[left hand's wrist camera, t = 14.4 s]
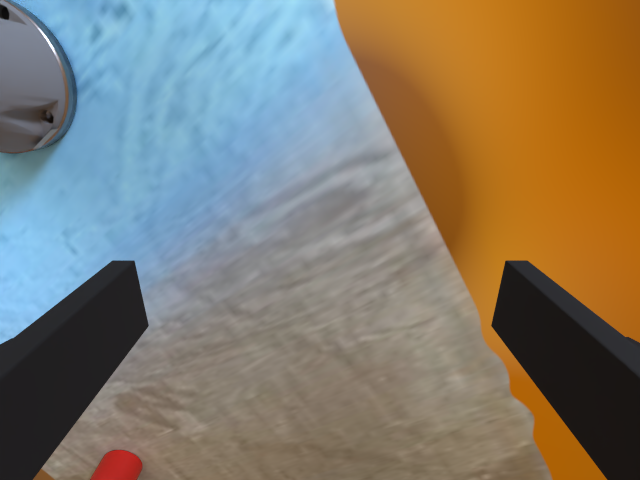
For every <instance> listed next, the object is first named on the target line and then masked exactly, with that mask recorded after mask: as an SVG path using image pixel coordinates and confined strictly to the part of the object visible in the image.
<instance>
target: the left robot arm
mask: <svg viewBox="0 0 640 480" xmlns="http://www.w3.org/2000/svg"><path fill="white" fill-rule="evenodd" d="M76 103H77V92H76V84H75V79H74V75H73V71H72V68H71V65H70V63H69V60H68V58H67V56H66V54H65V52H64V50H63V48H62V47H61V45H60V44H59V42H58V41H57V39H56V38H55V37H54V35H53V34H52V33H51V31H50V30H49V29H48V28H47V27H46V26H45V25H44V24H43V23H42V22H41V21H40V20H39V19H38V18H37V17H36V16H35V15H33V14H32V13H31V12H29V11H28V10H27V9H25V8H24V7H22V6H20V5H19V4H17V3H15V2H13V1H11V0H0V152H3V153H22V152H29V151H34V150H39V149H42V148H45V147H48V146H50V145H52V144H53V143H55V142H56V141H58V140H59V139H60V138H61V137H62V136H63V135H64V134H65V133H66V131H67V130H68V128H69V127H70V125H71V123H72V120H73V117H74V114H75V110H76ZM148 326H149V325H148V321H147V316H146V312H145V307H144V303H143V298H142V293H141V289H140V284H139V280H138V275H137V271H136V266H135V261H112V262H110V263H109V264H108V265H107V266H105V267H104V268H103V269H101V270H100V271H99V272H98V273H96V274H95V275H94V276H92V277H91V278H90V279H89V280H87V281H86V282H85V283H83V284H82V285H81V286H80V287H78V288H77V289H76V290H75V291H73V292H72V293H71V294H69V295H68V296H67V297H66V298H64V299H63V300H62V301H60V302H59V303H58V304H57V305H55V306H54V307H53V308H51V309H50V310H49V311H48V312H46V313H45V314H44V315H43V316H41V317H40V318H39V319H37V320H36V321H35V322H34V323H32V324H31V325H30V326H28V327H27V328H26V329H25V330H23V331H22V332H21V333H19V334H18V335H17V336H16V337H14V338H12V339H10V340H8V341H6V342H4V343H2V344H0V480H33V478H34V477H35V476H36V474H37V473H38V472H39V470H40V469H41V468H42V467H43V465H44V464H45V463H46V461H47V460H48V459H49V457H50V456H51V455H52V453H53V452H54V451H55V449H56V448H57V447H58V445H59V444H60V443H61V441H62V440H63V439H64V437H65V436H66V435H67V433H68V432H69V431H70V429H71V428H72V427H73V425H74V424H75V423H76V421H77V420H78V419H79V417H80V416H81V415H82V413H83V412H84V411H85V410H86V408H87V407H88V406H89V404H90V403H91V402H92V400H93V399H94V398H95V396H96V395H97V394H98V392H99V391H100V390H101V388H102V387H103V386H104V384H105V383H106V382H107V380H108V379H109V378H110V376H111V375H112V374H113V372H114V371H115V370H116V368H117V367H118V366H119V364H120V363H121V362H122V360H123V359H124V358H125V356H126V355H127V354H128V353H129V351H130V350H131V349H132V347H133V346H134V345H135V343H136V342H137V341H138V339H139V338H140V337H141V335H142V334H143V333H144V331H145V330H146V329H147V327H148ZM492 327H493V329H494V330H495V331H496V333H497V334H498V335H499V337H500V338H501V339H502V341H503V342H504V343H505V345H506V346H507V347H508V349H509V350H510V351H511V353H512V354H513V355H514V356H515V358H516V359H517V360H518V362H519V363H520V364H521V366H522V367H523V368H524V370H525V371H526V372H527V374H528V375H529V376H530V378H531V379H532V380H533V382H534V383H535V384H536V386H537V387H538V388H539V390H540V391H541V392H542V394H543V395H544V396H545V398H546V399H547V400H548V402H549V403H550V404H551V406H552V407H553V408H554V409H555V411H556V412H557V413H558V415H559V416H560V417H561V419H562V420H563V421H564V423H565V424H566V425H567V427H568V428H569V429H570V431H571V432H572V433H573V435H574V436H575V437H576V439H577V440H578V441H579V443H580V444H581V445H582V447H583V448H584V449H585V451H586V452H587V453H588V454H589V456H590V457H591V459H592V460H593V461H594V463H595V464H596V465H597V466H598V468H599V469H600V470H601V472H602V473H603V474H604V476H605V477H606V478H607V480H640V343H639V342H637V341H635V340H633V339H631V338H629V337H624V336H623V335H622V334H620V333H619V332H618V331H617V330H615V329H614V328H613V327H612V326H610V325H609V324H608V323H606V322H605V321H604V320H603V319H601V318H600V317H599V316H597V315H596V314H595V313H594V312H592V311H591V310H590V309H589V308H587V307H586V306H585V305H583V304H582V303H581V302H580V301H578V300H577V299H576V298H574V297H573V296H572V295H571V294H569V293H568V292H567V291H565V290H564V289H563V288H562V287H560V286H559V285H558V284H557V283H555V282H554V281H553V280H551V279H550V278H549V277H548V276H546V275H545V274H544V273H542V272H541V271H540V270H539V269H537V268H536V267H535V266H533V265H532V264H531V263H530V262H528V261H505V266H504V270H503V275H502V280H501V284H500V289H499V293H498V298H497V303H496V307H495V312H494V316H493V321H492Z"/></svg>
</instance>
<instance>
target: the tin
mask: <svg viewBox="0 0 640 480" xmlns="http://www.w3.org/2000/svg"><path fill="white" fill-rule="evenodd" d="M141 470H142V462H141V461H140V459H139V458H138V457H137V456H136V455H134V454H132V453H130V452H128V451H123V450H114V451H110V452H108V453H107V454H106V455H105V456H104V457H103V459H102V460H101V462H100V464H99V465H98V467H97V469H96V470H95V472H94V474H93V475H92V477H91V479H90V480H137V478H138V476H139V474H140V472H141Z"/></svg>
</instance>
